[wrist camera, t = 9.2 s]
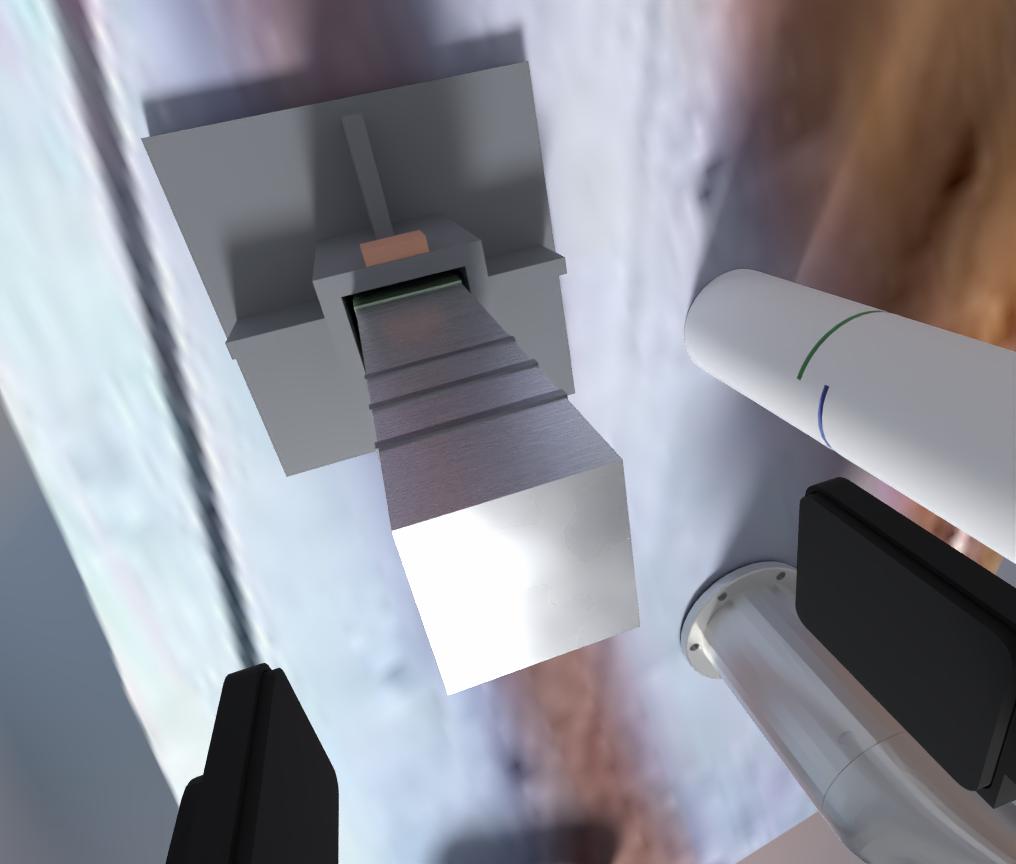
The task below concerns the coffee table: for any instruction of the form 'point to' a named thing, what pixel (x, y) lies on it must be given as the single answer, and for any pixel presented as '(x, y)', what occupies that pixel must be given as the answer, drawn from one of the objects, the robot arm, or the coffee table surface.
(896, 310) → the coffee table surface
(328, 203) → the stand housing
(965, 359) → the cylindrical container
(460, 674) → the steel post
